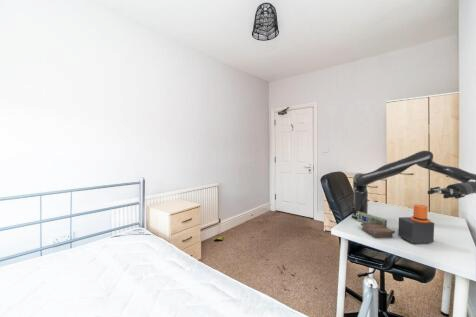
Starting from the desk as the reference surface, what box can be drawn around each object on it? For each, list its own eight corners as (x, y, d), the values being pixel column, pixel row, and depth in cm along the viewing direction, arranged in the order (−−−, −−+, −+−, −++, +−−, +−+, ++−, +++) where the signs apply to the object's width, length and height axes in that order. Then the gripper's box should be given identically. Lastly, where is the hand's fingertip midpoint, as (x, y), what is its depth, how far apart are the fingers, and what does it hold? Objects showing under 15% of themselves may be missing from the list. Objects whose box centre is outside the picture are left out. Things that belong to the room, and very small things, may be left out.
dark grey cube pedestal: (397, 236, 129) (398, 217, 128) (417, 236, 129) (418, 216, 128) (412, 244, 118) (412, 223, 118) (433, 244, 118) (434, 223, 118)
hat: (406, 217, 127) (406, 203, 126) (421, 217, 127) (421, 203, 127) (419, 223, 118) (419, 208, 118) (435, 222, 118) (435, 208, 118)
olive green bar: (384, 230, 138) (350, 218, 161) (387, 229, 139) (353, 217, 162) (384, 220, 138) (350, 209, 161) (387, 219, 139) (353, 209, 162)
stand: (360, 229, 141) (360, 223, 141) (378, 228, 141) (378, 222, 141) (374, 238, 127) (374, 232, 127) (394, 237, 127) (394, 231, 127)
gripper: (474, 199, 118) (449, 204, 116) (446, 192, 132) (423, 197, 130) (474, 186, 117) (449, 191, 115) (445, 181, 131) (423, 185, 129)
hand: (435, 194), depth 123 cm, fingers open, 8 cm apart
